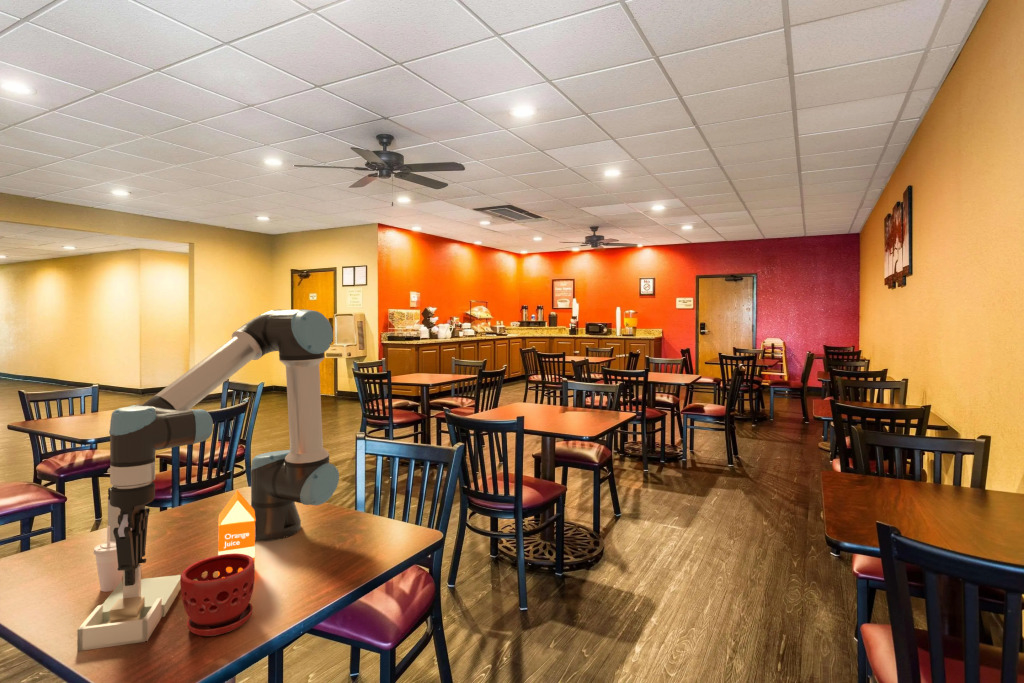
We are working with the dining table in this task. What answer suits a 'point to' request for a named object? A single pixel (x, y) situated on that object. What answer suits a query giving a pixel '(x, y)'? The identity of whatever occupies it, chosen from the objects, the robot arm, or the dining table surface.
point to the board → (148, 594)
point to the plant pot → (218, 593)
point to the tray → (116, 629)
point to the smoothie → (108, 564)
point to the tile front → (125, 619)
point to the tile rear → (127, 608)
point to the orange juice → (237, 528)
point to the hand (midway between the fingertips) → (131, 598)
